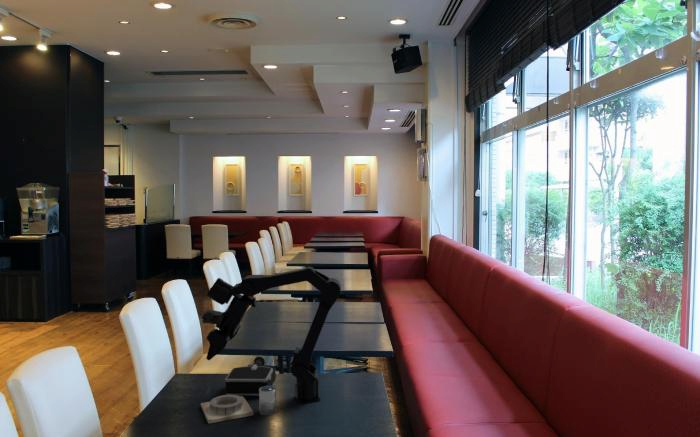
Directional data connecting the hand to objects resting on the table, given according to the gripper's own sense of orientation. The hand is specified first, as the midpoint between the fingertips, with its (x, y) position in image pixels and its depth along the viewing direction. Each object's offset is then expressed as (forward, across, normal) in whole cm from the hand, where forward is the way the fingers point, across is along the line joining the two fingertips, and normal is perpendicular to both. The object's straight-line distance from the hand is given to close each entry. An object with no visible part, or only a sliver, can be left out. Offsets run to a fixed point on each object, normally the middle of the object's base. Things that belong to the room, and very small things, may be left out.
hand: (212, 354), depth 168 cm
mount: (+9, +8, +13) cm, 18 cm away
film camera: (+8, -11, +16) cm, 21 cm away
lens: (+3, +9, +24) cm, 25 cm away
